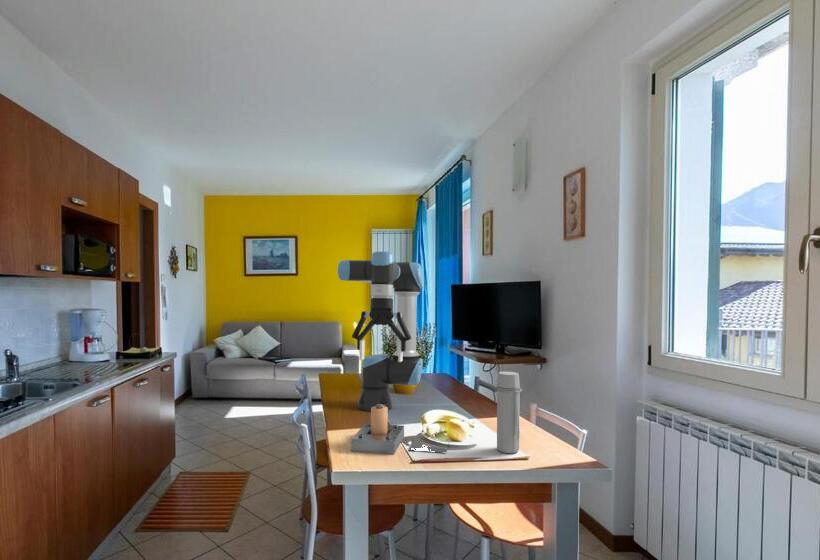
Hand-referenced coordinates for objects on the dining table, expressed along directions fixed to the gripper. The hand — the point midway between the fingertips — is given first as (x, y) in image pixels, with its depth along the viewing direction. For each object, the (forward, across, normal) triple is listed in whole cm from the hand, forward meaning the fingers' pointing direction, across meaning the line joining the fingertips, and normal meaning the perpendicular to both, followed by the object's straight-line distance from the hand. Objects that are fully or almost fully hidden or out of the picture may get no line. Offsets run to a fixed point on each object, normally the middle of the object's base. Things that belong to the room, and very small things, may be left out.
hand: (380, 360), depth 155 cm
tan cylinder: (+28, 0, 0) cm, 28 cm away
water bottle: (+28, +42, +5) cm, 51 cm away
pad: (+28, +16, +3) cm, 32 cm away
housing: (+28, 0, 0) cm, 28 cm away
